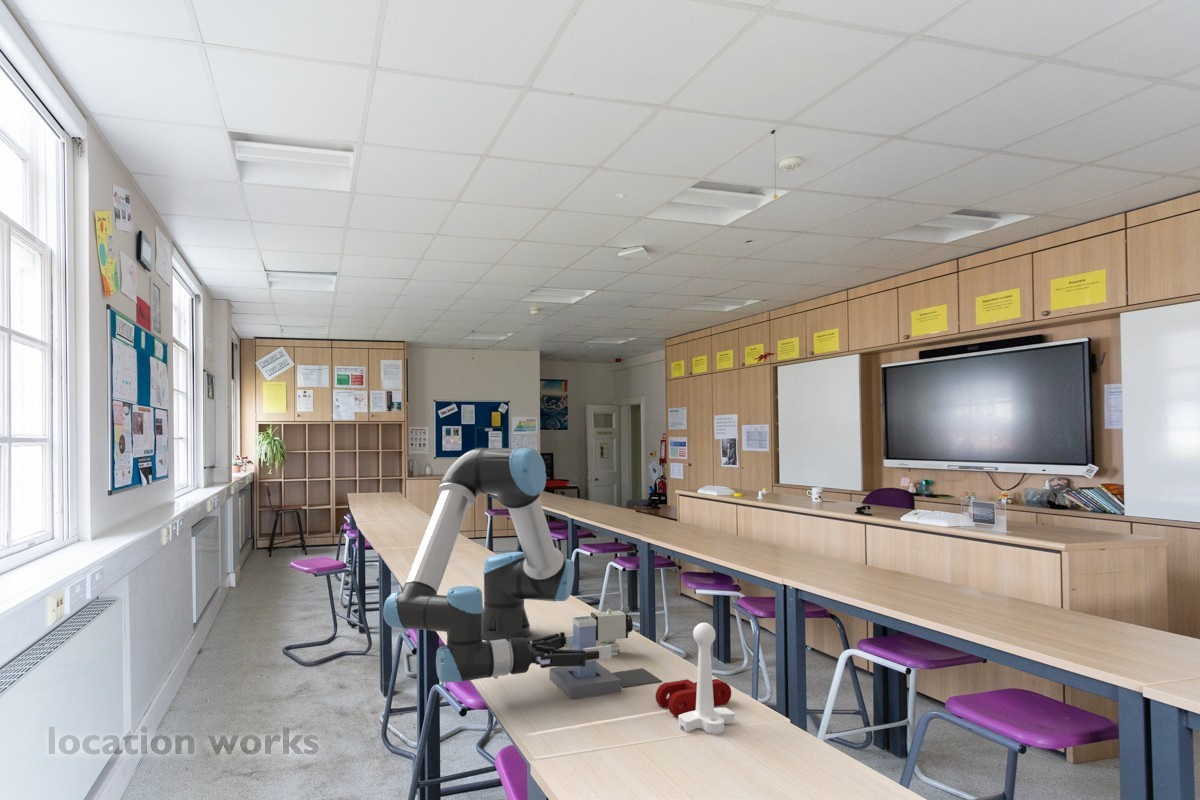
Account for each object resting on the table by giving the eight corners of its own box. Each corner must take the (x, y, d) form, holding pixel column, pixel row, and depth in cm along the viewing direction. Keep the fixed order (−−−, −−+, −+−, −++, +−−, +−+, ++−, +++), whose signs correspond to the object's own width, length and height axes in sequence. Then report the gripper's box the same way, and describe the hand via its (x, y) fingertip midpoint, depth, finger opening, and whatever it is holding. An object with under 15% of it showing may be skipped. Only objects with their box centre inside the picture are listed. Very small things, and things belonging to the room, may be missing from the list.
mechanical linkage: (672, 720, 145) (672, 695, 145) (655, 708, 152) (655, 684, 152) (737, 708, 152) (737, 684, 152) (718, 697, 158) (718, 674, 158)
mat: (605, 676, 171) (605, 673, 171) (642, 670, 175) (642, 668, 175) (623, 689, 162) (623, 686, 162) (662, 683, 166) (662, 680, 166)
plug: (572, 683, 165) (572, 617, 166) (589, 681, 167) (589, 615, 167) (579, 689, 161) (579, 622, 162) (596, 686, 163) (596, 620, 164)
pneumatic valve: (633, 655, 187) (633, 609, 188) (590, 660, 184) (590, 612, 184) (626, 649, 192) (626, 604, 193) (584, 653, 189) (584, 607, 190)
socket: (549, 681, 168) (549, 668, 168) (596, 674, 173) (596, 661, 173) (570, 701, 155) (570, 687, 155) (620, 693, 160) (620, 679, 160)
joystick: (722, 716, 147) (722, 617, 148) (743, 730, 140) (742, 626, 141) (675, 725, 142) (674, 623, 143) (694, 739, 135) (693, 632, 136)
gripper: (494, 659, 168) (582, 648, 176) (524, 691, 146) (621, 676, 155) (495, 626, 168) (582, 617, 177) (524, 653, 147) (621, 641, 156)
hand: (600, 645), depth 166 cm, fingers open, 10 cm apart
